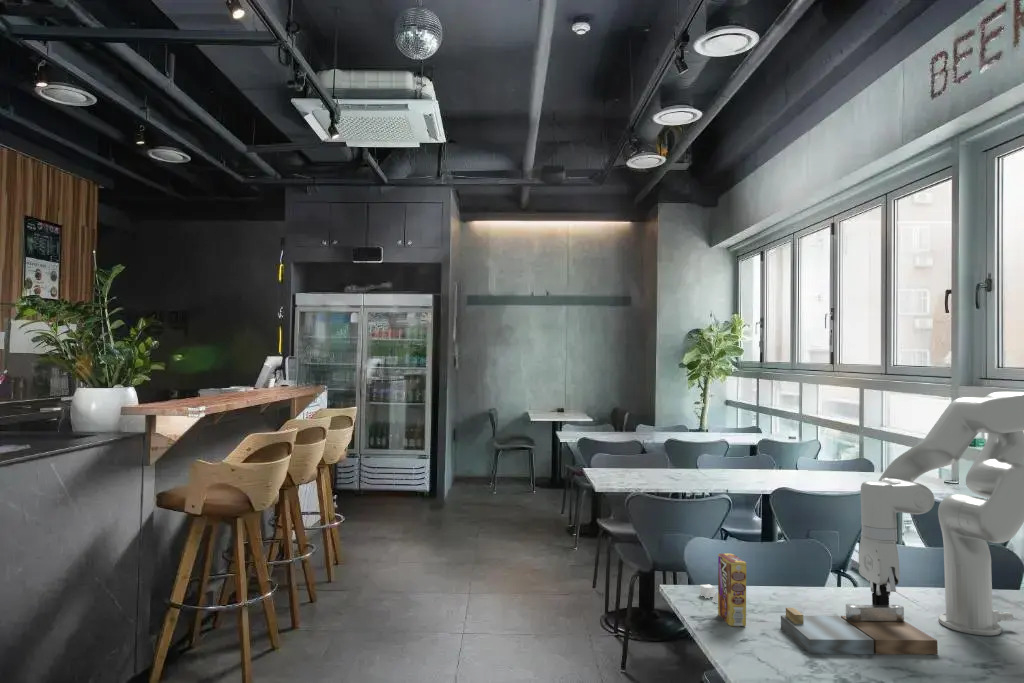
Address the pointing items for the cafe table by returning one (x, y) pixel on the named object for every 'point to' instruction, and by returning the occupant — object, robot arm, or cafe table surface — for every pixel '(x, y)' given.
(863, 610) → the swing bar
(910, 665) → the cafe table surface
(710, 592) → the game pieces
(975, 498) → the robot arm
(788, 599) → the cafe table surface
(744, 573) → the candy box
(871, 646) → the gray and brown slabs
